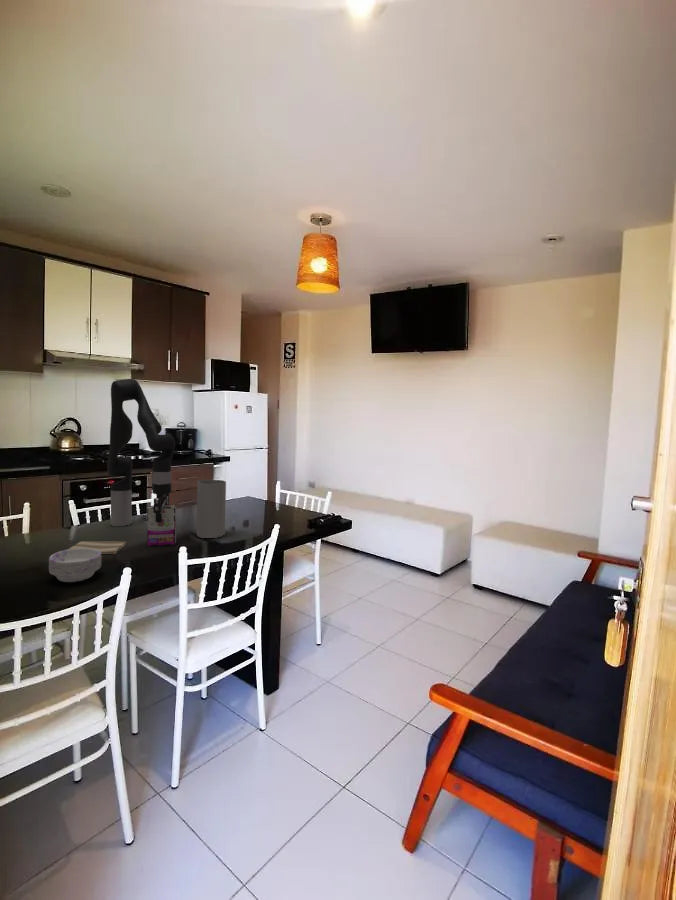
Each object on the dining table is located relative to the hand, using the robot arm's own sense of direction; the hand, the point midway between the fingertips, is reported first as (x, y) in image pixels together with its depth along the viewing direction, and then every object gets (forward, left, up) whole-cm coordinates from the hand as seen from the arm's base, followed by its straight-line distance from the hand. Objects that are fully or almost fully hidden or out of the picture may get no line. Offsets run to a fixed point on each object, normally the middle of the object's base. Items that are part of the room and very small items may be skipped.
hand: (161, 520), depth 189 cm
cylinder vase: (-14, +18, -11) cm, 25 cm away
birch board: (+8, -23, -10) cm, 26 cm away
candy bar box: (0, 0, -11) cm, 11 cm away
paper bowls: (+39, -17, -11) cm, 44 cm away
